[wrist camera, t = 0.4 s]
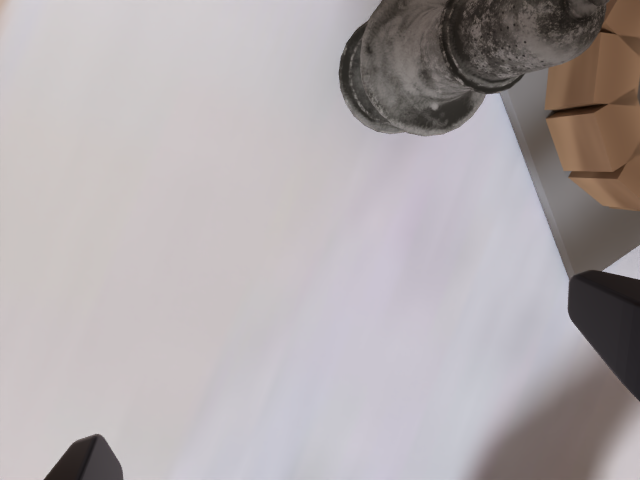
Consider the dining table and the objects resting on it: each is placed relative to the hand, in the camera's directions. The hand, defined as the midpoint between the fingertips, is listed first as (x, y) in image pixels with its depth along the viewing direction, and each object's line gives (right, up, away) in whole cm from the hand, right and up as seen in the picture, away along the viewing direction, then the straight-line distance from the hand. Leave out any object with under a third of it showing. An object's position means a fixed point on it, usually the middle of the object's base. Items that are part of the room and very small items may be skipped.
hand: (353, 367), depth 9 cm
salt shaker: (+3, +10, +14) cm, 17 cm away
